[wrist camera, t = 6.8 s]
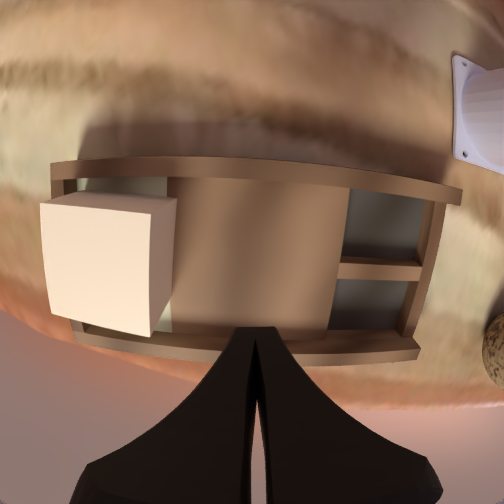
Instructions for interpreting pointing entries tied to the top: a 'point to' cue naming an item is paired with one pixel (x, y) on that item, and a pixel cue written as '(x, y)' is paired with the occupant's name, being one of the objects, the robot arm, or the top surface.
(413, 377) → the top surface
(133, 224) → the ivory block
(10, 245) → the top surface
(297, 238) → the box
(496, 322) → the decorative egg
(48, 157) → the top surface
